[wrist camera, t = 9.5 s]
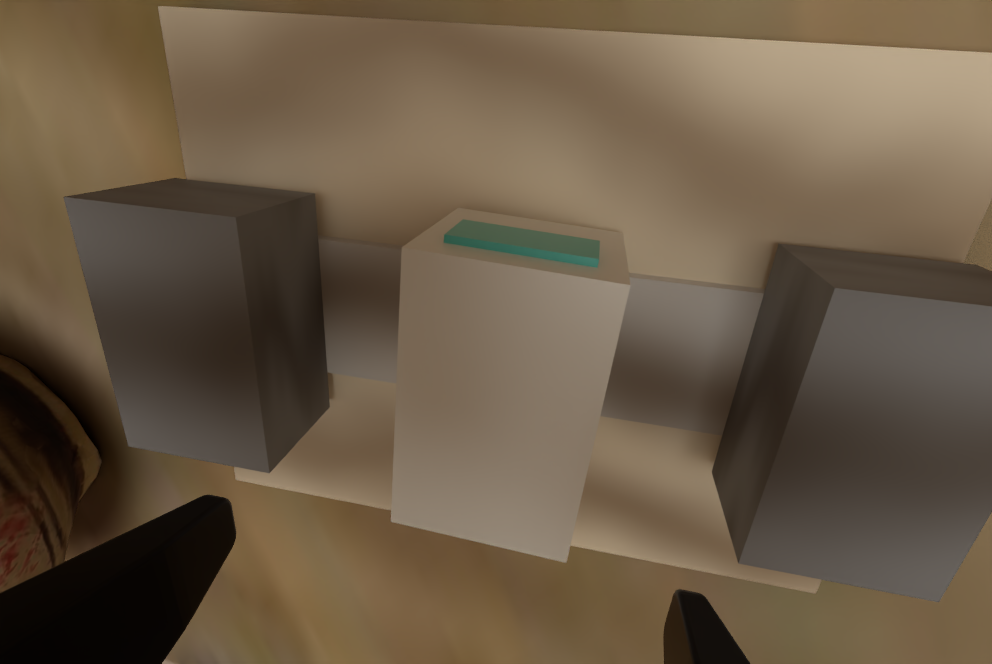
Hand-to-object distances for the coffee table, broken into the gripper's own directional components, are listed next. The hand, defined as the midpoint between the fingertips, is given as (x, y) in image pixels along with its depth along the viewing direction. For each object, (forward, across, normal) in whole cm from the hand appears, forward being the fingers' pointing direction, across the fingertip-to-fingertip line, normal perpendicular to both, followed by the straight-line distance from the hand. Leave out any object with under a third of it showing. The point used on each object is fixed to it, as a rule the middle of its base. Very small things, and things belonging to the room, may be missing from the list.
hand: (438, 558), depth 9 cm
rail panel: (+11, 0, 0) cm, 11 cm away
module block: (+10, 0, 0) cm, 10 cm away
